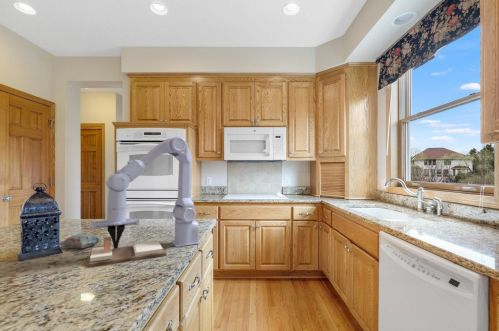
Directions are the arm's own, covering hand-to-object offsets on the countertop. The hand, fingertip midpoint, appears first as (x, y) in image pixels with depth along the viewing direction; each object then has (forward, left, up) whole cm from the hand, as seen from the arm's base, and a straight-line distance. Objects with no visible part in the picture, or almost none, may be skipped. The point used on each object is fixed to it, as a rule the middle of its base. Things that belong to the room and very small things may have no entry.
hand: (115, 247), depth 85 cm
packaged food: (+12, -18, -4) cm, 22 cm away
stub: (+4, 0, -2) cm, 5 cm away
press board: (-4, 0, -3) cm, 5 cm away
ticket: (-10, 0, -3) cm, 11 cm away
